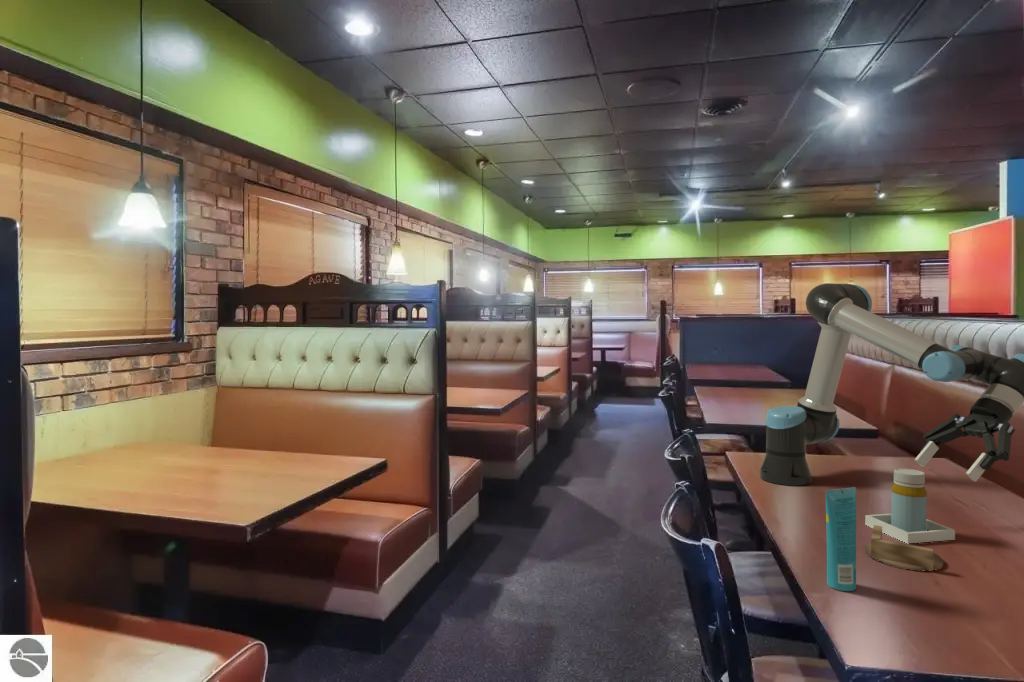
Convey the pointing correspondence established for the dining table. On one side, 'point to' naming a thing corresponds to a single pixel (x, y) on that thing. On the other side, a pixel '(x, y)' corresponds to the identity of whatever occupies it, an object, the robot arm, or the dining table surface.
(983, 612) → the dining table surface
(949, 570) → the dining table surface
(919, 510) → the bottle
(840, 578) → the tube
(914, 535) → the grey frame
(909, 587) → the dining table surface
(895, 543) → the v block
